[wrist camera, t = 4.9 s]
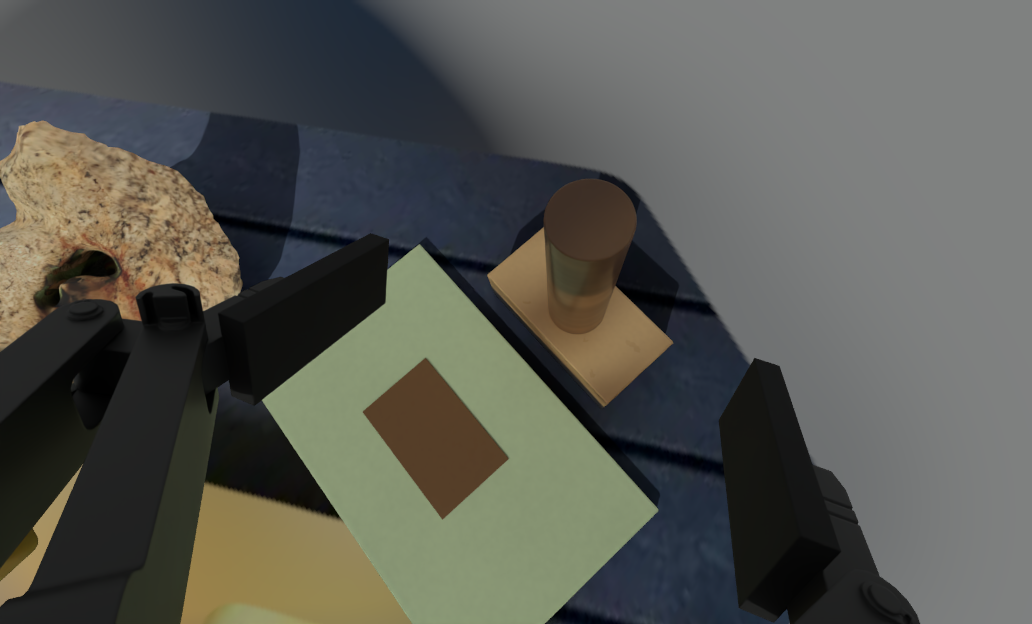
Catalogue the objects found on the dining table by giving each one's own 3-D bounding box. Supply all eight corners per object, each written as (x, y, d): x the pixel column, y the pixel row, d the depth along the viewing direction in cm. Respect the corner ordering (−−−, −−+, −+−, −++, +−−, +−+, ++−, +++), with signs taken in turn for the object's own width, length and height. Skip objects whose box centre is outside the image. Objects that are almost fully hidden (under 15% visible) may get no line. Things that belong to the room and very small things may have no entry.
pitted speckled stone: (237, 423, 36) (166, 473, 28) (45, 368, 35) (-83, 403, 27) (296, 199, 33) (238, 187, 26) (93, 131, 32) (-31, 96, 25)
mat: (657, 508, 26) (659, 510, 25) (467, 696, 24) (464, 703, 23) (421, 247, 32) (418, 243, 31) (254, 383, 30) (248, 381, 29)
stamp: (660, 354, 28) (753, 270, 15) (601, 409, 28) (643, 373, 14) (550, 245, 31) (546, 92, 18) (494, 293, 30) (445, 172, 17)
